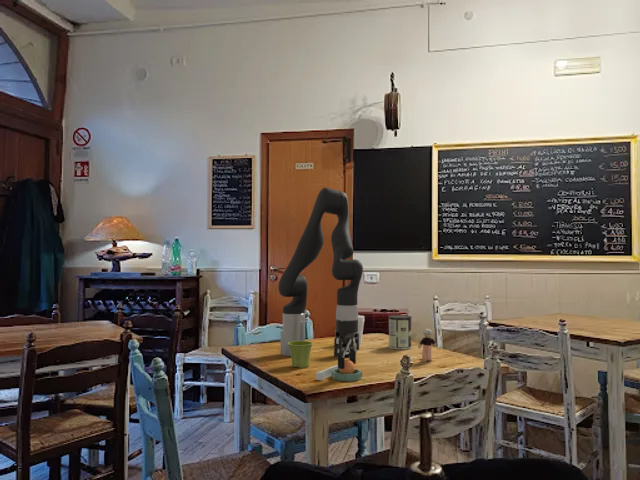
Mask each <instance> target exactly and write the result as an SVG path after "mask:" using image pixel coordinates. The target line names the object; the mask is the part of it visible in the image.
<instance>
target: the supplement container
mask: <svg viewBox="0 0 640 480" xmlns="http://www.w3.org/2000/svg"><path fill="white" fill-rule="evenodd" d="M339 336H340V333H338V332H336V329H335V330H334V339H335V338H339ZM337 352H338V349H337ZM342 353H343V351H342ZM349 353H351V352H349V349H348V351H347V352H346V353H345V356H344V358H345V359H346V358H349ZM335 357H336V358H338V357H337V356H335Z"/></svg>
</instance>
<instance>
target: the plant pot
mask: <svg viewBox="0 0 640 480" xmlns="http://www.w3.org/2000/svg"><path fill="white" fill-rule="evenodd" d="M288 345H289V348H290V352H291V356H290V357H291V367H293V368H300V369H302V368H303V369H304V368H307V367H309V364H310V359H311V351H312V348H313V347H312V346H313V345H314V343H313V342H312V341H309V340H305V341H293V342H289V343H288Z"/></svg>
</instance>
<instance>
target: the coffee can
mask: <svg viewBox="0 0 640 480" xmlns="http://www.w3.org/2000/svg"><path fill="white" fill-rule="evenodd" d="M388 348H389V349H392V350H409V349H413V347H412V316H411V315H404V314H391V315H388Z"/></svg>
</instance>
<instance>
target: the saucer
mask: <svg viewBox="0 0 640 480" xmlns="http://www.w3.org/2000/svg"><path fill="white" fill-rule="evenodd" d="M331 376H332V379H333V380H335V381H339V382H357V381H360V380H361V379H362V377H363V371H362V370H361V369H359V368H355V371H354V373H353V374H341V373H340V371H339V368H337V369H335V370H332V375H331Z"/></svg>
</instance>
